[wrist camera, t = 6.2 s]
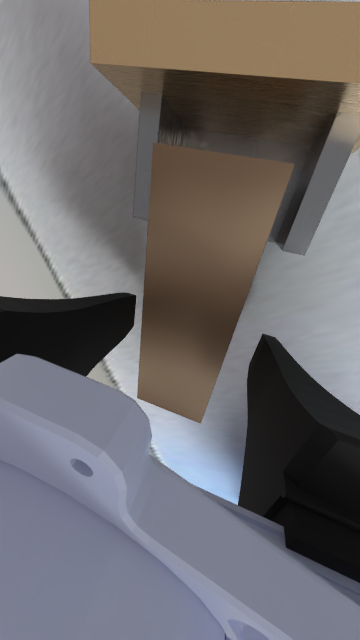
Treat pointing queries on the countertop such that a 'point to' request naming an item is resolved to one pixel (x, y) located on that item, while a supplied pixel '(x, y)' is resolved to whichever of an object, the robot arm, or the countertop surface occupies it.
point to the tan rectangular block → (200, 266)
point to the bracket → (240, 89)
